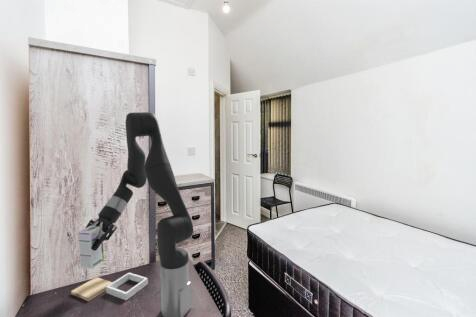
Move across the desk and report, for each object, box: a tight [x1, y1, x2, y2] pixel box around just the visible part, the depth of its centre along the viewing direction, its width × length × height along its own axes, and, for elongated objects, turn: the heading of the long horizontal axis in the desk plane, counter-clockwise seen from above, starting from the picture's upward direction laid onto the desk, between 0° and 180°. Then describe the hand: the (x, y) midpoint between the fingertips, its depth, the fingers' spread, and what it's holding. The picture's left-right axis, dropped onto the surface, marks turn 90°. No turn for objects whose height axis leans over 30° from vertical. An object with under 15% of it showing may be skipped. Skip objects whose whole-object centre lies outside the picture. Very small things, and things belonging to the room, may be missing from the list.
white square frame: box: [105, 272, 149, 301], centre depth 90 cm, size 11×11×2 cm
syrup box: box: [77, 226, 105, 269], centre depth 88 cm, size 6×6×14 cm
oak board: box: [70, 276, 114, 302], centre depth 89 cm, size 10×10×1 cm
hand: (87, 247), depth 86 cm, fingers closed on syrup box, 6 cm apart
